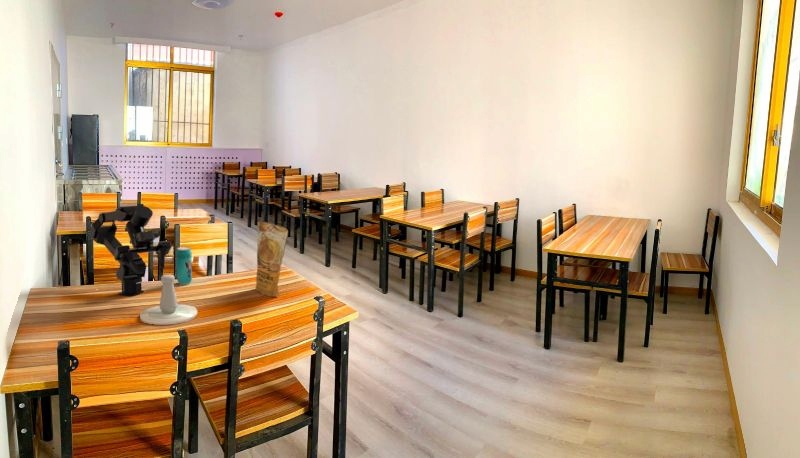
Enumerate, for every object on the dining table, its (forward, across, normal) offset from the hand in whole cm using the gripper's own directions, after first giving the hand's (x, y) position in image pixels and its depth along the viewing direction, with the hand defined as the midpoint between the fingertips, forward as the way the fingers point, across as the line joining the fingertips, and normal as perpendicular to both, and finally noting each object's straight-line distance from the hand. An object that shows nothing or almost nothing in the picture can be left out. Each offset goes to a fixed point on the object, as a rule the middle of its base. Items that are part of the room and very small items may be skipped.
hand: (150, 269), depth 189 cm
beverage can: (-4, +21, +23) cm, 31 cm away
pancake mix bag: (+18, +42, 0) cm, 45 cm away
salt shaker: (+19, 0, -3) cm, 19 cm away
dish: (+20, 0, -2) cm, 20 cm away
